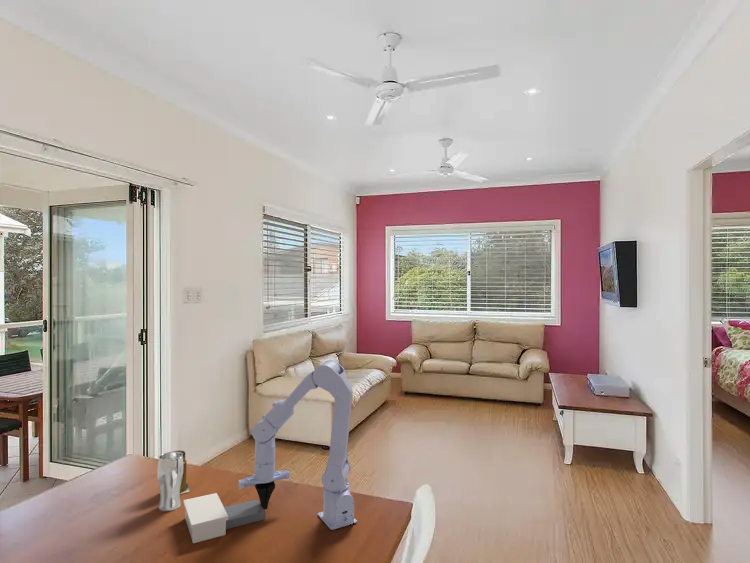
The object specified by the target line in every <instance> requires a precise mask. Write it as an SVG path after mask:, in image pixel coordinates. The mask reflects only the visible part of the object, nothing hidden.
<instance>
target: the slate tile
mask: <svg viewBox="0 0 750 563" xmlns="http://www.w3.org/2000/svg"><path fill="white" fill-rule="evenodd" d="M224 508H225V510H226V512H227V514H228V520H226V530H228V529H232V528H236V527H240V526H244V525H248V524H252V523H256V522H259V521H264V520H265V519H266V509H263V507H262V506H261V503H260V500H258V499H253V500H248V501H245V502H244V501H243V502H240V503H235V504H231V505H228V506H224Z"/></svg>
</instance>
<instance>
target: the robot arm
mask: <svg viewBox="0 0 750 563" xmlns="http://www.w3.org/2000/svg"><path fill="white" fill-rule="evenodd" d="M318 388H320V389H322V390H324V391H326V392H328V393H329V394H330V395H331V396H332V397H333V398H334V400H333V401H334V402H333V412H332V414H333V415H332V424H331V434H330V442H329V444H330V445H329V452H328V453H329V454H328V456H327V457H328V458H327V462H326V467H325V470H324V472H323V473H322V477H321V483H322V485H323V486H322V487H323V494H322V495H323V496H322V497H323V500H322V501H323V502H322V503H323V505H322V506H323V509H322V511H320V512H317V516H318V517H319V518H320V519H321V521H322V522H324V524H326V526H327V527H328V528H329V529H330V531H331V530H332V531H334V530H336V529H337V530H338V529H340V528H343V527H348V526H350V524H351V525H353V523H354V524H357V523H358V520H357V519H356V518H355V500H354V497H353V495H351V492H350V483H349V480H348V476H349V474H350V473H351V472H350V471H351V465H350V463H349V462H350V461H349V453H348V444H349V435H350V434H349V433H350V424H351V414H352V405H353V404H352V402H353V387H352V385H351V384H350V381H349V379H348V377H347V374H346V371H345V368H344V367H343V366H342V365H341V364H340V363H339V362H337V361H336V360H334V359H329V360H327V361H324V362H323V363H322V364H321V365H318V366H317V367H316V368H315V369H314V370H313V371H311V372H310V373H309V374H307V375H306V376H305V377H304V378H303V379H302V380H301V382H300V383H299V384H298V385H297V386H296V387H295V388H294V390H293V391H292V392H291V393H290V394H289V396H287V398H286V399H279V400H278V401H277V400H276V401H275V402H273V403H272V405H271V406H272V408H270V410H269V411H268V412H267V413H264V414H262V416H261V418H262V420H260V421H258V422H256V423H255V424H254V426H253V428H252V430H251V435H252V438H253V439H254V474H253V475H251V476H248V477H245V478H243V479H238V488H239V490H243V489H244V488H249V487H253V486H254V488H255V490H256V492H257V494H258V499H259V503H260V504H261V506H262V507H263V509H264V510H267V509H268V507H269V503H270V499H271V496H272V494H273V492H274V491H275V489H276V483H275V482H277V481H280V480H289V479H290V472H289V470H288V469H287V470H276V468H275V467H276V435H277V433H279V432H278V431H279V430H280V429H281V428H282V427H283V426H284V425H285V424H286V423H287V422H288V420H289V419H290V418H291V417H292V416H293V415H294V414H295V407H296V406H297V404H298V403H299V402H300V401H301V400H302V399H303V398H304V397H305V396H306V395H307V394H308V393H309V392H310V391H311V390H317V389H318ZM275 470H276V471H275ZM244 490H245V489H244ZM356 522H357V523H356Z"/></svg>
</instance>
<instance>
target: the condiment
mask: <svg viewBox="0 0 750 563" xmlns="http://www.w3.org/2000/svg"><path fill="white" fill-rule="evenodd" d="M172 452H181V453H183V476H182V482H181V487H180V495H181V494H185V493H187V494H188V493H190V488H189V482H188V480H187V459H186V451H184V450H174V451H173V450H172Z"/></svg>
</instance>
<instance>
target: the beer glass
mask: <svg viewBox="0 0 750 563" xmlns="http://www.w3.org/2000/svg"><path fill="white" fill-rule="evenodd" d="M156 470H157V472H156V474H157V483H158V487H159V488H158V489H159V494H160V495H159V503H158V510H159V511H160V512H172V511H175V510H177V509H179V508H180V507H181V505H182V501H181V494H180V487H181V482H182V476H183V453H181V452H173V451H169V452H164V453H162V454H160V455H159V456H158V461H157V469H156Z"/></svg>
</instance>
